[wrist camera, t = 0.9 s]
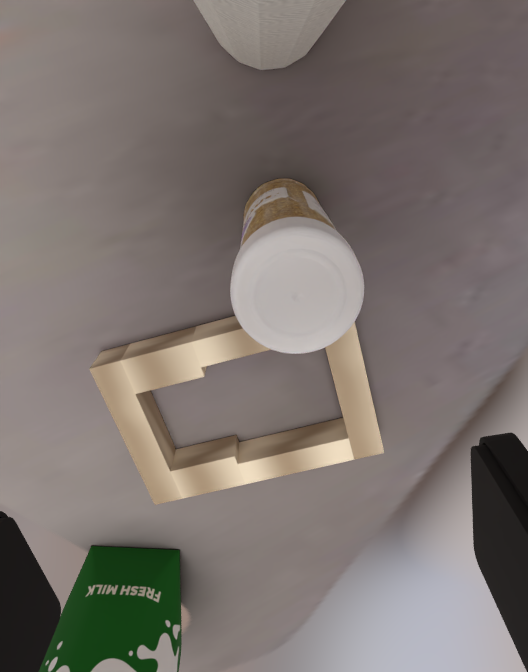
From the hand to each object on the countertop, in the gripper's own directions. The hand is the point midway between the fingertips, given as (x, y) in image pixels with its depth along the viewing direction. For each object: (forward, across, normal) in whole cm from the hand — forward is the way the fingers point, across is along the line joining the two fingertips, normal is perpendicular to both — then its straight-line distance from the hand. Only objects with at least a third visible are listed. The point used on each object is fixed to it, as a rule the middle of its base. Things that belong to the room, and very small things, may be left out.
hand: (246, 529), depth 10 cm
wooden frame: (+21, +3, +9) cm, 23 cm away
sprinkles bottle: (+22, -2, -2) cm, 22 cm away
